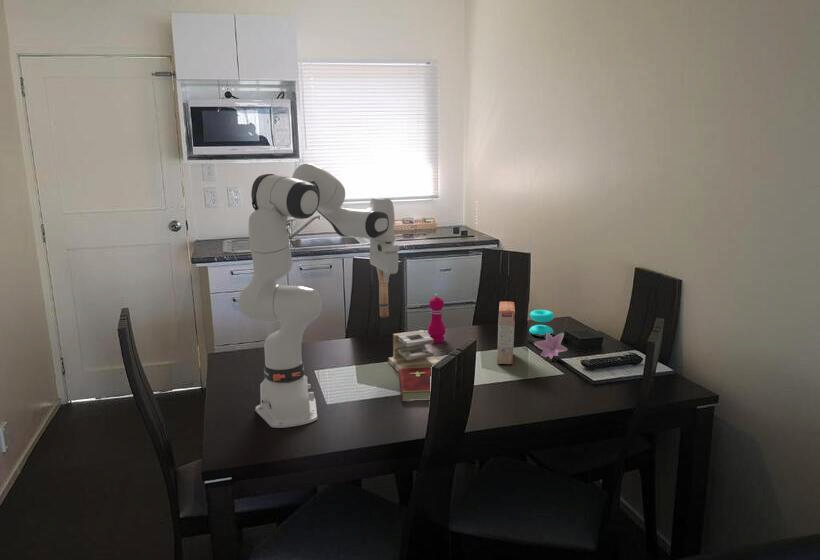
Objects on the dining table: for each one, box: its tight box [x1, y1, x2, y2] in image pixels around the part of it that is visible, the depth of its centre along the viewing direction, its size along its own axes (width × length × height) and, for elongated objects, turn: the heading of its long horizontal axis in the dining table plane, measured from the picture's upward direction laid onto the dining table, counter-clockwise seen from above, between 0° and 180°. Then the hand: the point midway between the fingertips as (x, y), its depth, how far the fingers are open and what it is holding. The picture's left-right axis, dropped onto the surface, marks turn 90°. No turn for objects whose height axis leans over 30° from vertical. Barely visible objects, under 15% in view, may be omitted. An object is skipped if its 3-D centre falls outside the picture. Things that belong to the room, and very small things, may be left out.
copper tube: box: [378, 269, 390, 318], centre depth 227 cm, size 3×3×18 cm
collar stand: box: [387, 329, 440, 373], centre depth 230 cm, size 14×16×11 cm
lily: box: [533, 332, 568, 360], centre depth 238 cm, size 12×12×10 cm
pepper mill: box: [427, 293, 446, 344], centre depth 257 cm, size 7×7×20 cm
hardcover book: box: [398, 367, 431, 401], centre depth 210 cm, size 12×21×4 cm, turn 3°
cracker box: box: [496, 301, 516, 365], centre depth 235 cm, size 14×6×21 cm, turn 171°
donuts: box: [529, 309, 555, 335], centre depth 265 cm, size 10×10×10 cm
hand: (383, 281), depth 226 cm, fingers closed on copper tube, 3 cm apart
